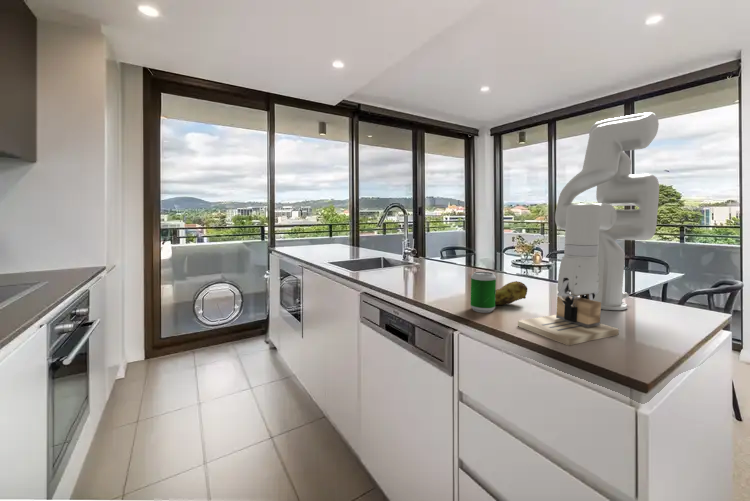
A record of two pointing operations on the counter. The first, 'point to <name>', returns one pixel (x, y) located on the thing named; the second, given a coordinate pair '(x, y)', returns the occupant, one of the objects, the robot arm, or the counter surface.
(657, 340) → the counter surface
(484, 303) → the soda can
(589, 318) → the block
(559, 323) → the board
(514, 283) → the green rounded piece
